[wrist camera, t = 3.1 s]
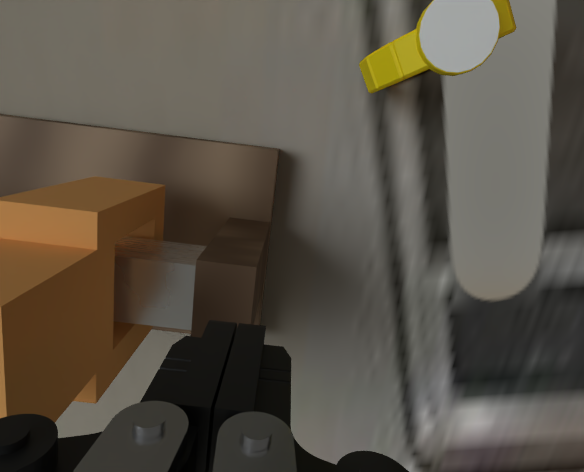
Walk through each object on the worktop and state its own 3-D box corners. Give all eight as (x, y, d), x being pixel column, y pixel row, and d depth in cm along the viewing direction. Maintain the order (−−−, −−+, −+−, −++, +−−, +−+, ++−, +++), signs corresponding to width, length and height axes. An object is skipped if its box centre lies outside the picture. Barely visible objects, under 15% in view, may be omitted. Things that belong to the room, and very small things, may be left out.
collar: (165, 184, 18) (-3, 252, 8) (159, 318, 19) (11, 516, 9) (94, 176, 18) (-164, 233, 8) (93, 310, 19) (-123, 501, 9)
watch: (369, 110, 21) (385, 107, 15) (349, 55, 20) (358, 31, 15) (489, 59, 20) (554, 35, 14) (472, 0, 19) (533, -51, 14)
